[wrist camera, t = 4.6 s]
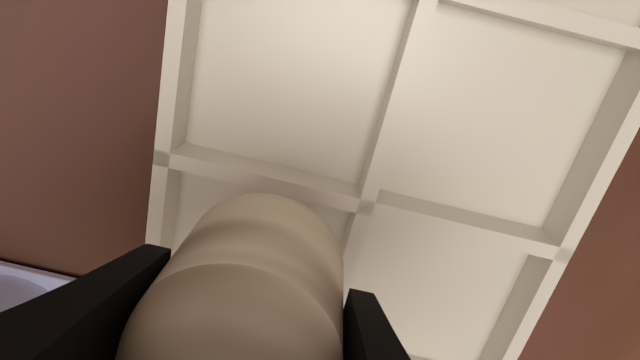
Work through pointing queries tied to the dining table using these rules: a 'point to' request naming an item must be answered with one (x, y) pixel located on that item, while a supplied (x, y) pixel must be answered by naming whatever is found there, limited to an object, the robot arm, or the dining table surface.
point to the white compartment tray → (407, 143)
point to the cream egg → (245, 289)
